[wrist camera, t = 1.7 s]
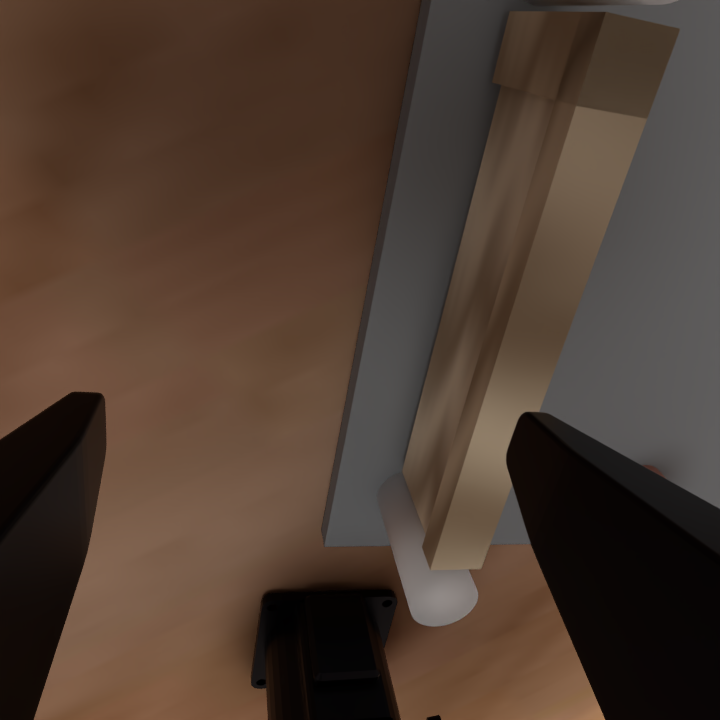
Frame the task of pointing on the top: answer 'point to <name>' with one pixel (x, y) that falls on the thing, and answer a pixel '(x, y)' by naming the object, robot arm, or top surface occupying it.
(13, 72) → the top surface
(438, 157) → the board
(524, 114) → the light wood bar
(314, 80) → the top surface
